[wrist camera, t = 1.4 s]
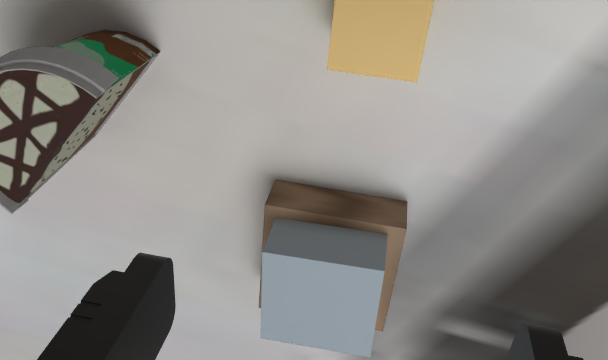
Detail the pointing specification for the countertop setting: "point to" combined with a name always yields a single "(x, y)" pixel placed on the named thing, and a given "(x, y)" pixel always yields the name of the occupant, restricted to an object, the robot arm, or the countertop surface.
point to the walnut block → (343, 222)
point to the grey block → (322, 286)
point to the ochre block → (379, 37)
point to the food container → (60, 104)
